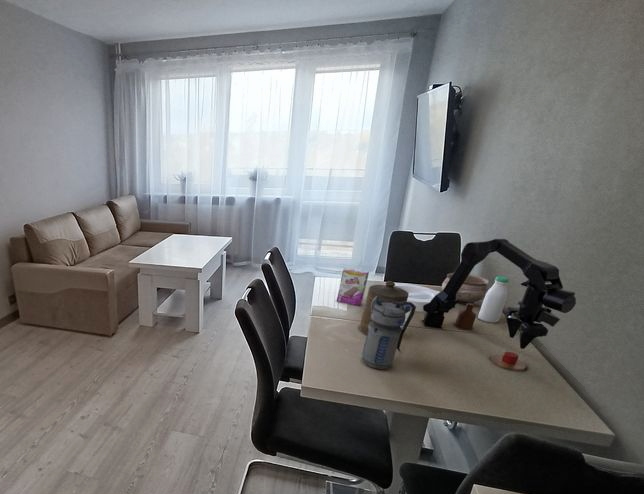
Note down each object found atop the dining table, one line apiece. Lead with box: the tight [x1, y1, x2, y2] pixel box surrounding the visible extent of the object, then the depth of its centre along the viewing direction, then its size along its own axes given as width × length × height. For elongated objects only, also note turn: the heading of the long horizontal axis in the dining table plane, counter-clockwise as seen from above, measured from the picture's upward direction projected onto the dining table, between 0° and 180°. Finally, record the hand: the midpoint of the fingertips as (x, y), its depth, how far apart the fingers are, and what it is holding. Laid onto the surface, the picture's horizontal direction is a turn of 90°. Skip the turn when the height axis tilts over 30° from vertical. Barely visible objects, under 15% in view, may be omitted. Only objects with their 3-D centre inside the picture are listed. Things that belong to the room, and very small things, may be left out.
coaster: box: [490, 354, 527, 372], centre depth 149 cm, size 10×10×1 cm
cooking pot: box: [441, 272, 490, 305], centre depth 205 cm, size 25×19×12 cm
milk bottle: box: [477, 275, 510, 324], centre depth 183 cm, size 8×8×20 cm
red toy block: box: [502, 351, 519, 365], centre depth 148 cm, size 4×4×3 cm
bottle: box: [454, 303, 477, 331], centre depth 177 cm, size 6×6×10 cm
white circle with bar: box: [383, 282, 441, 313], centre depth 205 cm, size 28×28×5 cm
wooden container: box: [359, 280, 409, 335], centre depth 168 cm, size 15×15×22 cm
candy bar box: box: [336, 267, 370, 307], centre depth 199 cm, size 11×5×16 cm, turn 58°
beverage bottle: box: [361, 296, 416, 370], centre depth 142 cm, size 10×13×25 cm
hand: (516, 342), depth 146 cm, fingers open, 9 cm apart
